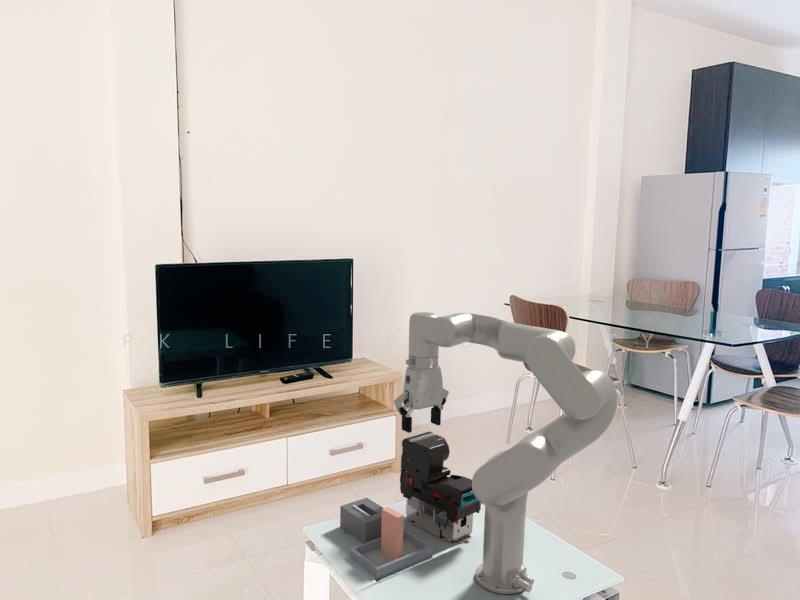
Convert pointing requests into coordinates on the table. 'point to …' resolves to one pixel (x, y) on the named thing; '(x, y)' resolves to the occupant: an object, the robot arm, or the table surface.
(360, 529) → the dispenser
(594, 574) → the table surface
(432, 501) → the bill acceptor
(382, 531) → the salmon pink rectangular block
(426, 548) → the tray
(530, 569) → the table surface
